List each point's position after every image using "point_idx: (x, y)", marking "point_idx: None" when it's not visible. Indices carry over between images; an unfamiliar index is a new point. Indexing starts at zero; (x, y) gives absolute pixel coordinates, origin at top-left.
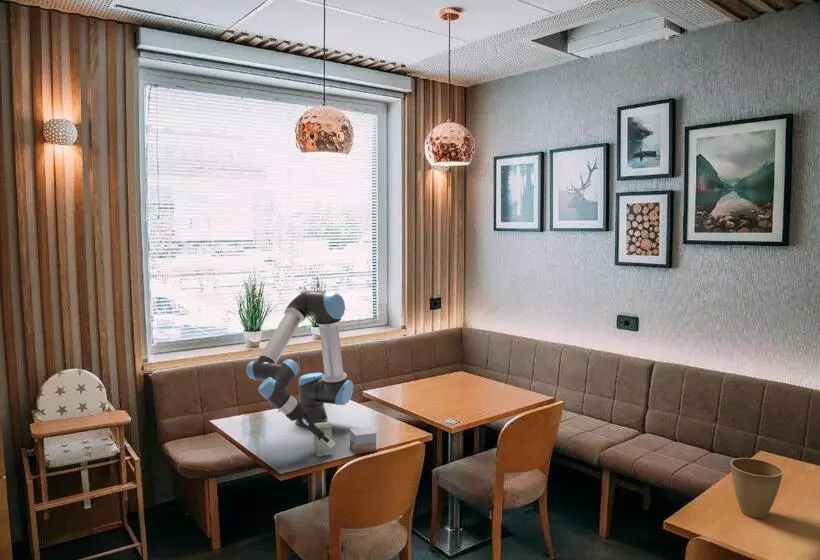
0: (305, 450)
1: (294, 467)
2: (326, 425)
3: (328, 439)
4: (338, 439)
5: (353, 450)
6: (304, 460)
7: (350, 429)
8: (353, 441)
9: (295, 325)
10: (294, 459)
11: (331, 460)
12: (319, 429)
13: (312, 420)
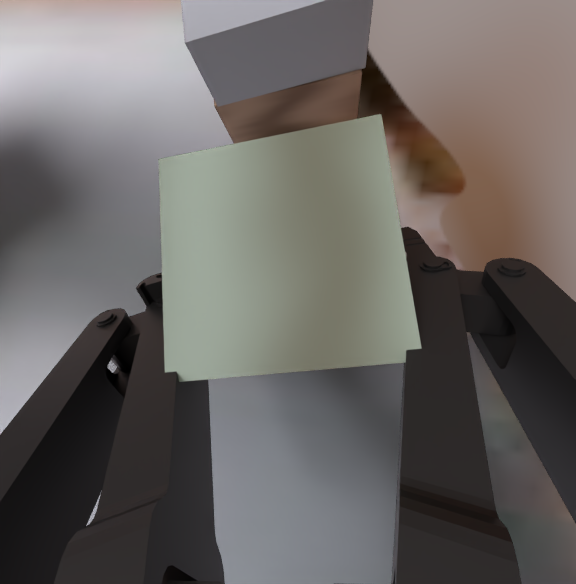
0: (239, 408)
1: (557, 531)
2: (322, 190)
3: (415, 233)
4: (116, 199)
5: (318, 123)
6: None
7: (202, 35)
8: (308, 76)
9: None
10: (390, 507)
11: (452, 259)
12: (417, 315)
13: (54, 403)
